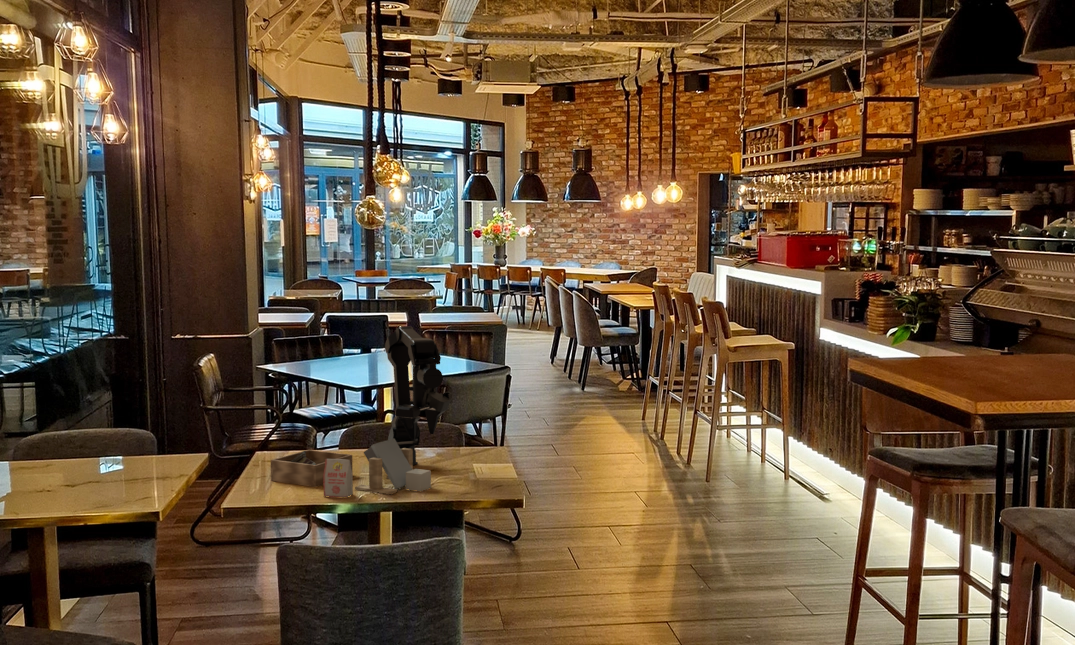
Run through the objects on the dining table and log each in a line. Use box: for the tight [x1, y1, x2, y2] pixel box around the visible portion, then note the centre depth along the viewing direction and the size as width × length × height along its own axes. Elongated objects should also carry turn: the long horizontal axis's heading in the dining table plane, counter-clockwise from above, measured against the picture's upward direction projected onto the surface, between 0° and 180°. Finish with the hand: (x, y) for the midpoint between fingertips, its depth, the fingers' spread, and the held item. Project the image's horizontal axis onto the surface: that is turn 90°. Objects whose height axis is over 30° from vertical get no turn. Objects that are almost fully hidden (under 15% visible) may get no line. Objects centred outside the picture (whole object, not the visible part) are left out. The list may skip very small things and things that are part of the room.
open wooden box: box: [270, 449, 354, 488], centre depth 272 cm, size 16×16×6 cm
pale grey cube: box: [405, 468, 432, 492], centre depth 259 cm, size 5×5×5 cm
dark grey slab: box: [363, 438, 412, 490], centre depth 262 cm, size 14×10×5 cm
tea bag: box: [322, 459, 354, 498], centre depth 251 cm, size 4×7×10 cm, turn 79°
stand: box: [354, 448, 414, 495], centre depth 262 cm, size 12×18×9 cm
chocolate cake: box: [291, 450, 316, 465], centre depth 272 cm, size 10×7×12 cm
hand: (422, 436), depth 268 cm, fingers open, 9 cm apart
